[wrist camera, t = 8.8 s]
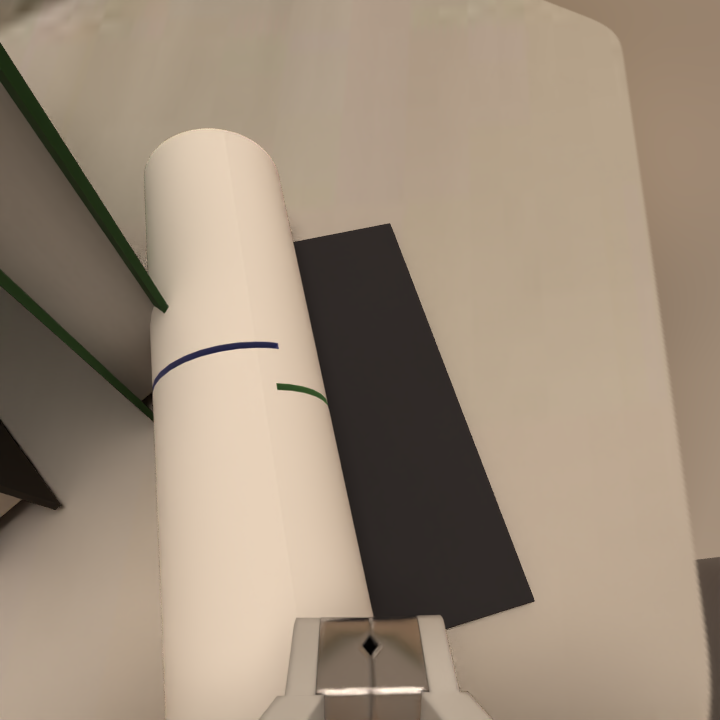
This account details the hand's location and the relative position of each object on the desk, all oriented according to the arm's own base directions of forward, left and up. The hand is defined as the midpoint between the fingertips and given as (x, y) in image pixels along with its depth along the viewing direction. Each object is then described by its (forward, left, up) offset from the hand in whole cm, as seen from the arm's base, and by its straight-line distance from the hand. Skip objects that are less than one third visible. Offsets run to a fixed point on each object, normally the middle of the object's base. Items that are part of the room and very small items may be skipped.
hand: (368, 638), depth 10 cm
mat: (0, -10, -12) cm, 15 cm away
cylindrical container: (+3, +3, -8) cm, 9 cm away
